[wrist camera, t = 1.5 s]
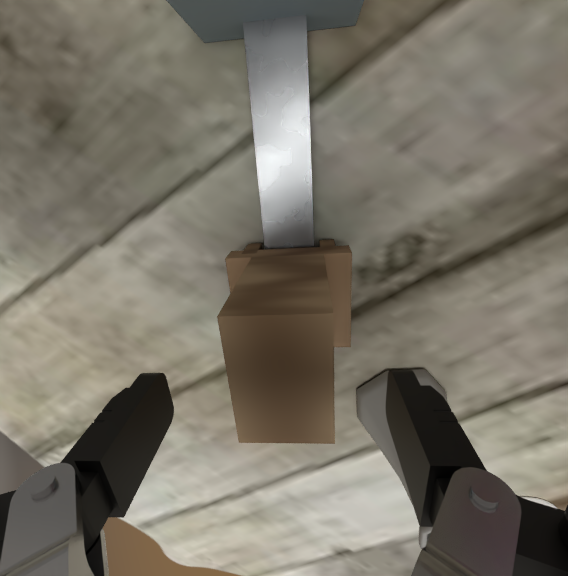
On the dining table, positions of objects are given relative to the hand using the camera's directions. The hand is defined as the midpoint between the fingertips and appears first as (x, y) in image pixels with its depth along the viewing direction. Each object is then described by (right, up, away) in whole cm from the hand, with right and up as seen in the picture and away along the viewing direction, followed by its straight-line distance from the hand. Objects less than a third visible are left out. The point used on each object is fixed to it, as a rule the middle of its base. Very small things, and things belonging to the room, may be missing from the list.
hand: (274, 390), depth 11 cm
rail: (+1, +9, +9) cm, 12 cm away
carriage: (+1, +4, +11) cm, 11 cm away
